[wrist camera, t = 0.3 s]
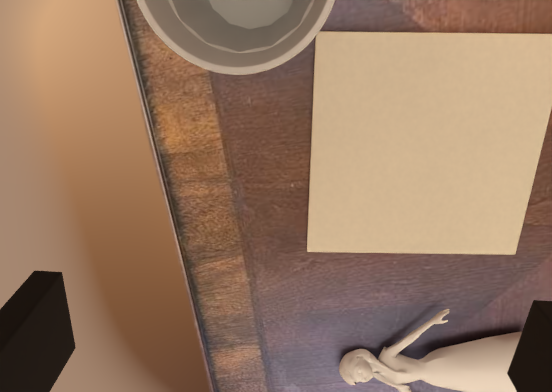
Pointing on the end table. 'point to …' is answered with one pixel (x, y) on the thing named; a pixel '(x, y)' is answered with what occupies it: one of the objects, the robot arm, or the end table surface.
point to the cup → (236, 30)
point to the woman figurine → (438, 363)
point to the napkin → (425, 140)
